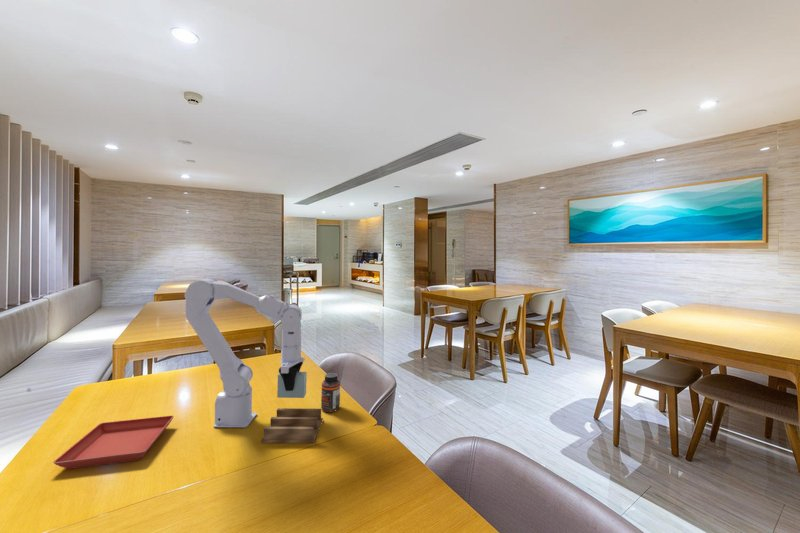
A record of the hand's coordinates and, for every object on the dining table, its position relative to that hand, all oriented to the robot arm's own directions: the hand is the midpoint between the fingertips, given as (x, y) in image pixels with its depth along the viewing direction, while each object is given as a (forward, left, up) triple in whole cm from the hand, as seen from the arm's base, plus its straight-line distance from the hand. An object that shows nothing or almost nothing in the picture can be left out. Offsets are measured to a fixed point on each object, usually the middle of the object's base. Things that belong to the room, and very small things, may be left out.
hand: (291, 387), depth 102 cm
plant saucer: (-39, -16, -10) cm, 43 cm away
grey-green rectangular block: (0, 0, -2) cm, 3 cm away
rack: (+3, -9, -9) cm, 13 cm away
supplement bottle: (+11, +5, -9) cm, 15 cm away
